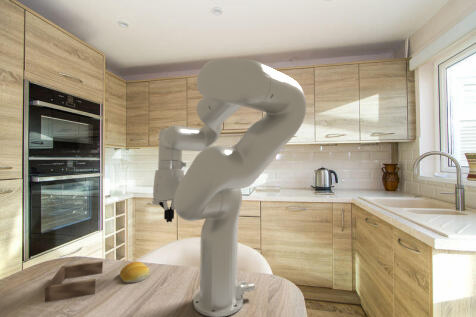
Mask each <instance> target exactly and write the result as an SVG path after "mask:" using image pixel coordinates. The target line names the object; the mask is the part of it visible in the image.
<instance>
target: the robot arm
mask: <svg viewBox="0 0 476 317" xmlns="http://www.w3.org/2000/svg"><path fill="white" fill-rule="evenodd" d="M196 87H197V91H198V92H199V94H200V95H201V96H203V97H201V99H200V100H198V102H197V104H196V113H197V115H198V118H199V119H200V121H201V122H202V123H203V124H204V125H203V126H202V127H200V128H199V127H192V126H184V125H175V124H174V125H171V126H169V127H167V128H162V129H161V130H160V131H159V132H158V164H157V168H158V169H156V170H155V173H154V178H153V188H152V191H153V192H152V195H153V198H152V204H153V205H156V206H160V207H161V208H162V209H163V210H164V211H163V213H164V214H163V219H164V220H165V221H166V223H169V222H170V223H173V220H174V218H175V213H176V214H177V216H178V217H179V218H180V219H182V220H184V221H188V222H194V221H201V220H204V222H203V223H202V228H201V232H200V250H199V252H200V256H199V257H200V258H199V260H200V261H199V265H200V267H199V291H197V293H196V294H195V295H194V297H193V307H194V309H195V310H196V312H198V313H199V314H201V315H203V316H206V317H227V316H231V315H233V314H235V313H237V312H238V311H239V310H241V308H242V307H243V304H244V296H243V295H244V293H247V292H248V293H250V292H253V291H255V290H256V288H255V283H254V282H249V283H247V281H246V280H245V279H244V280H240V281H238V251H239V250H238V248H239V247H238V245H239V244H238V242H239V239H238V238H239V221H240V219H239V218H240V213H241V207H242V203H243V202H242V201H243V194H242V189H245V188H248V187H250V186H251V185H252V184H254V182H255V183H256V180H257V179H258V178H259V177H260V176H261V175H262V174H263V172H264V171H265V170H266V169H267V168H268V166H270V165H271V163H272V162H273V160H274V159H275V158H276V157H277V155H278V154H279V153H280V152H281V151H282V149H284V147H285V146H286V145H287V144H288V143H289V142H290V141H291V140H292V138H293V137H294V136H295V135H296V134H297V133H298V131H299V129H300V128H301V126H302V125H303V123H304V121H305V117H306V113H307V98H306V95H305V92H304V90H303V88H302V87H301V85H300V84H299V83H298V82H297V81H296V80H294V79H293V78H292V77H290V76H288V75H287V74H284V72H283V73H282V72H280V71H278V70H276V69H274V68H272V67H270V66H268V65H266V64H264V63H262V62H259V61H257V60H254V59H249V58H215V59H211V60H209V61H208V62H206V63H204V65H203V66H202V67H201V68H200V70H199V71H198V74H197V77H196ZM242 107H244V108H248V109H253V110H256V111H259V112H264V113H265V115H264V116H263V117H262V118H260V119H259V120H257V121H256V122H254V123H253V124H252V125H250V126H249V128H248V129H246V131H245V132H244V134H243V135H242V137H240V140H239V141H238V142H237V143H236V144H234V145H232V146H220V145H219V146H218V145H215V146H214V145H213V144H215V143H216V142H217V141H218V139H219V138H220V135H221V132H222V129H223V127H222V126H223V123H224V122H226V121H227V120H228V119H229V118H231V116H232V115H234V114H235V113H237V112H238V111H239V110H240V109H241V108H242ZM212 145H213V146H212ZM183 151H187V152H188V151H190V152H199V153H198V154H197V155H196V157H195V158H194V160H193V161H192V162H191V164H190V166H189V168H188V169H187V171H186V172H184V170H183V168H187V162H183ZM169 201H171V203H170V206H168V202H169Z"/></svg>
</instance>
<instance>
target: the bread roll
mask: <svg viewBox="0 0 476 317" xmlns="http://www.w3.org/2000/svg"><path fill="white" fill-rule="evenodd" d="M149 276H150V268H149V266H146V264H145V263H143V262H140V261H132V262H130V263H128V264H126V265H125V266H124V267H123V268H122V269H121V270H120V272H119V277H120V278H121V279H122V281H123V282H124V283H128V284H132V283H133V284H134V283H139V282H142V281H144V280H146V279H147V278H148V277H149Z"/></svg>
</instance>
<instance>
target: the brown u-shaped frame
mask: <svg viewBox="0 0 476 317" xmlns="http://www.w3.org/2000/svg"><path fill="white" fill-rule="evenodd" d="M103 267H104V264H103V260H99V261H94V262H93V261H92V262H84V263H83V262H82V263H76V264H75V263H74V264H69V265H68V264H67V265H62V266H61V267H60V268H59V269H58V271H57V272H56V273H55V274H54V276H52V278H51V280H49V282H48V284H47V285H46V286H45V288H44V303H48V302H54V301H59V300H65V299H69V298H76V297H83V296H89V295H95V294H96V283H97V282H96V278H93V279H86V280H79V281H74V282H71V281H70V282H66V283H65V282H64V281H65V280H66V279H70V278H78V277H83V276H84V277H85V276H92V275H97V274H103V272H104V271H103ZM63 282H64V283H63Z"/></svg>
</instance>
